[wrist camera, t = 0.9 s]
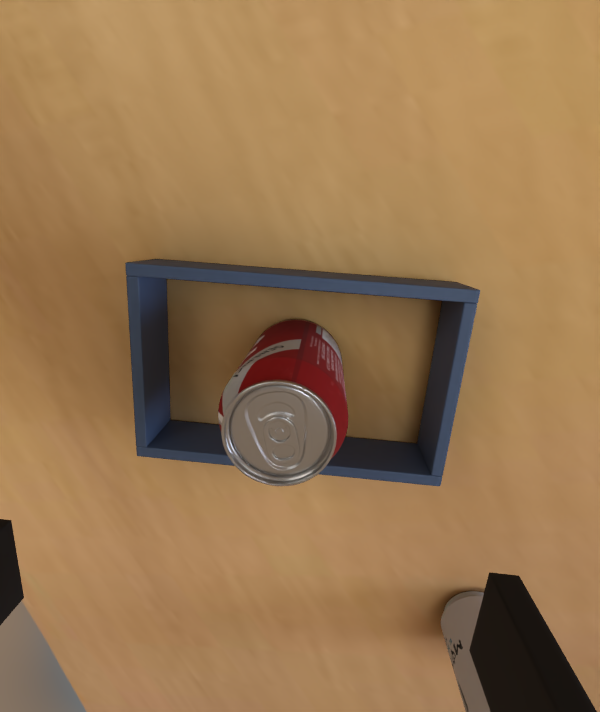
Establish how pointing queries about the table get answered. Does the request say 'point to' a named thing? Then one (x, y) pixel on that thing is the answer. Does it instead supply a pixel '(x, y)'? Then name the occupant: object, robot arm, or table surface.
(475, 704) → the energy drink can
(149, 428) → the open box
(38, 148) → the table surface
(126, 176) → the table surface
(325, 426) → the soda can
